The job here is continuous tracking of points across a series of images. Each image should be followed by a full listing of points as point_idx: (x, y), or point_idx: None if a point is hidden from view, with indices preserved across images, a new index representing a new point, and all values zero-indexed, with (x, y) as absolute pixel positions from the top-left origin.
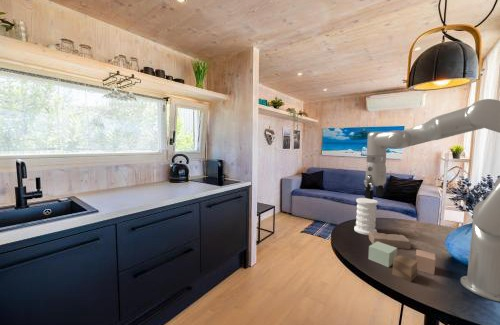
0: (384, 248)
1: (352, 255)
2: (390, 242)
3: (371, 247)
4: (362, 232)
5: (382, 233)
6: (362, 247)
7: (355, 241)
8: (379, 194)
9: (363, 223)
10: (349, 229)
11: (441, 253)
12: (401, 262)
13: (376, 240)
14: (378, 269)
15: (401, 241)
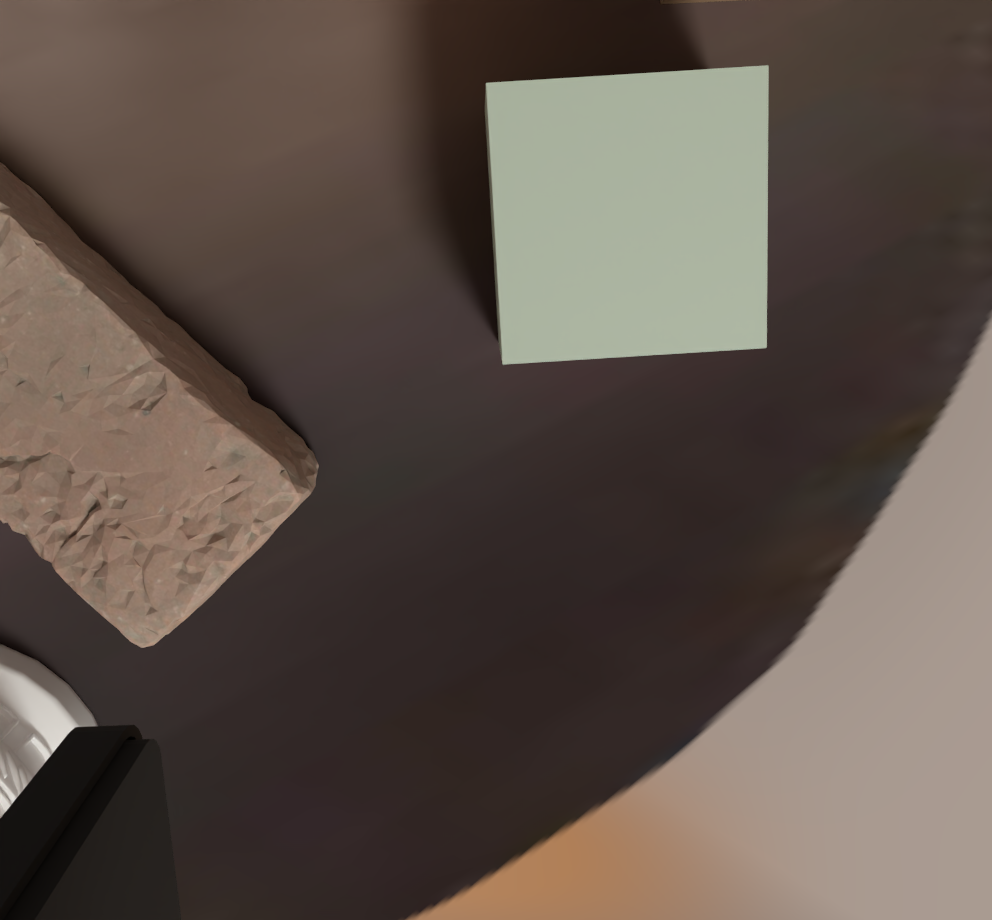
0: (658, 184)
1: (789, 476)
2: (154, 332)
3: (765, 312)
4: None
5: (13, 517)
6: (490, 522)
7: (404, 659)
8: (153, 885)
9: None
10: None
11: None
12: None
13: (291, 463)
14: (860, 139)
15: (28, 228)
